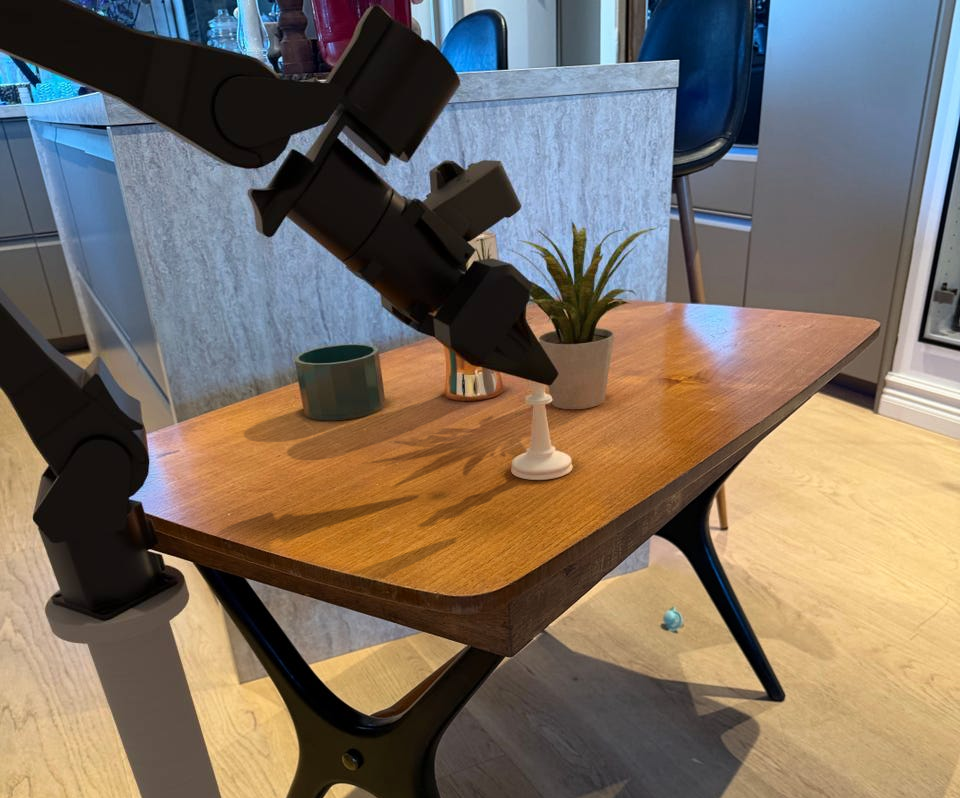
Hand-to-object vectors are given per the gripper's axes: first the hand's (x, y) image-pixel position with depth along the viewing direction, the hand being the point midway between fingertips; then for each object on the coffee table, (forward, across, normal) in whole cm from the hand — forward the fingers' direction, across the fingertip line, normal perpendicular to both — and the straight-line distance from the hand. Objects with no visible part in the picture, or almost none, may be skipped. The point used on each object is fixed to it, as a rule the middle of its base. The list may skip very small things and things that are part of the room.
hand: (529, 366), depth 67 cm
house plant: (+15, +16, -3) cm, 22 cm away
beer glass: (+8, +25, +4) cm, 26 cm away
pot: (-1, +27, +13) cm, 30 cm away
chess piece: (+6, 0, +6) cm, 9 cm away
